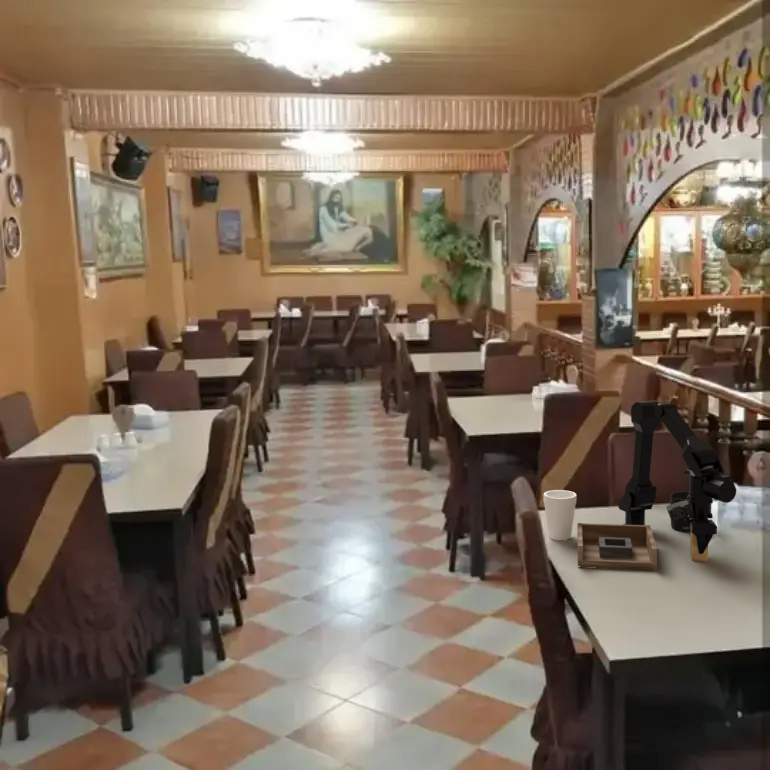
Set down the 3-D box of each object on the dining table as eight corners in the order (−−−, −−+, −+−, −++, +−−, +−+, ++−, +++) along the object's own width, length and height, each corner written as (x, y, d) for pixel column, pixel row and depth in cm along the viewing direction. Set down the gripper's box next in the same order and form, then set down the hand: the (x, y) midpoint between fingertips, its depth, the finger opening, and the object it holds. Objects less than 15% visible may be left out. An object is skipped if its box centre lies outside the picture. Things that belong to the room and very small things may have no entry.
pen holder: (663, 528, 266) (664, 496, 264) (679, 521, 272) (680, 489, 270) (692, 535, 259) (693, 502, 257) (708, 527, 265) (709, 495, 263)
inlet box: (577, 543, 254) (577, 523, 253) (649, 545, 250) (650, 525, 249) (578, 567, 235) (578, 545, 234) (656, 570, 231) (656, 548, 230)
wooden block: (690, 555, 241) (690, 527, 240) (705, 556, 241) (706, 528, 239) (692, 560, 237) (692, 532, 236) (707, 561, 237) (708, 532, 236)
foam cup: (573, 543, 254) (574, 499, 252) (541, 541, 257) (541, 497, 255) (577, 533, 263) (578, 491, 261) (546, 531, 266) (546, 489, 264)
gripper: (665, 483, 247) (664, 537, 249) (672, 502, 229) (671, 560, 231) (707, 484, 245) (705, 538, 247) (718, 503, 227) (716, 561, 229)
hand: (699, 549), depth 239 cm, fingers open, 7 cm apart
